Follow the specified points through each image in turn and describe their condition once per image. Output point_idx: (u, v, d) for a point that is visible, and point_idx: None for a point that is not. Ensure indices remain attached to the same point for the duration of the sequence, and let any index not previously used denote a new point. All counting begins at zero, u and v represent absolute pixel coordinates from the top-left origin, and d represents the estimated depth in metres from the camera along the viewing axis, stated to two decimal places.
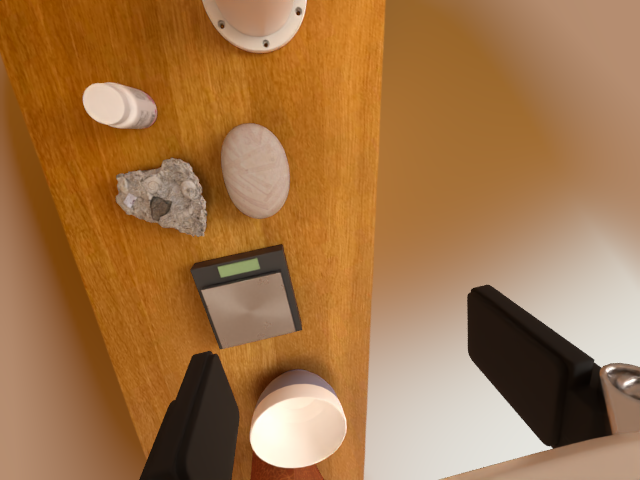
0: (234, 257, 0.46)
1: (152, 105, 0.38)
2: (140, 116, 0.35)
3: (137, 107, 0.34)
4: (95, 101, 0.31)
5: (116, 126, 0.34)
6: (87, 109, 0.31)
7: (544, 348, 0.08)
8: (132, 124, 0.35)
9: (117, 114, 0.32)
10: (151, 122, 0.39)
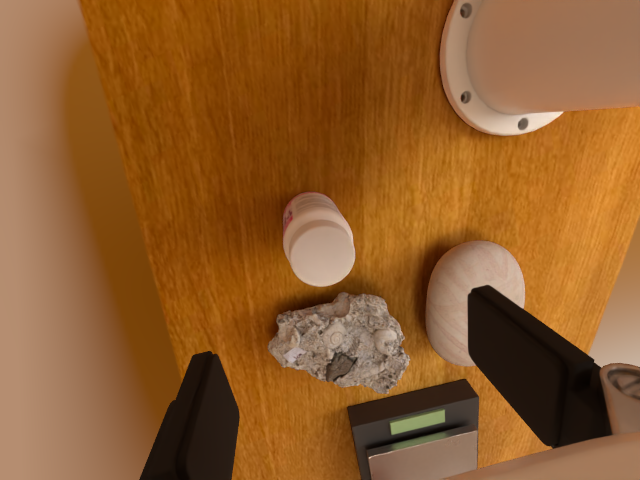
0: (406, 402, 0.33)
1: None
2: None
3: None
4: (312, 254, 0.18)
5: None
6: (295, 267, 0.18)
7: (544, 348, 0.08)
8: None
9: (341, 271, 0.18)
10: None
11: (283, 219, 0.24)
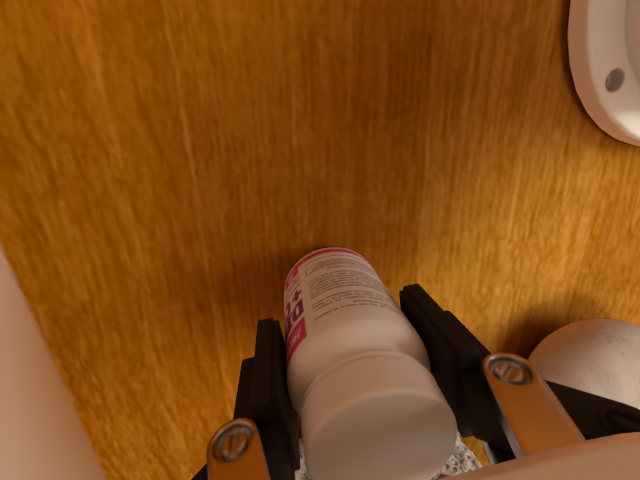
0: None
1: None
2: None
3: None
4: (358, 449, 0.07)
5: None
6: (318, 476, 0.07)
7: (444, 340, 0.09)
8: None
9: (423, 473, 0.08)
10: None
11: (284, 300, 0.13)
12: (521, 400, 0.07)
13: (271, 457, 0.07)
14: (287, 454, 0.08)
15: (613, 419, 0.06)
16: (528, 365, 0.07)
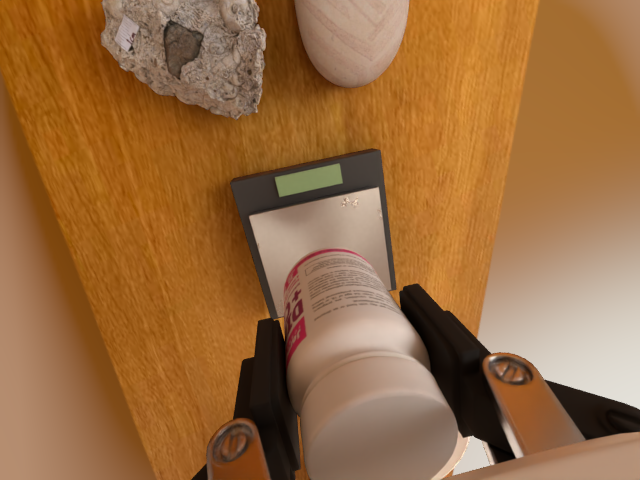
0: (299, 165, 0.28)
1: None
2: None
3: None
4: (359, 450, 0.07)
5: None
6: (317, 477, 0.07)
7: (444, 339, 0.09)
8: None
9: (423, 473, 0.08)
10: None
11: (284, 300, 0.13)
12: (521, 400, 0.07)
13: (271, 457, 0.07)
14: (287, 454, 0.08)
15: (614, 419, 0.06)
16: (528, 365, 0.07)
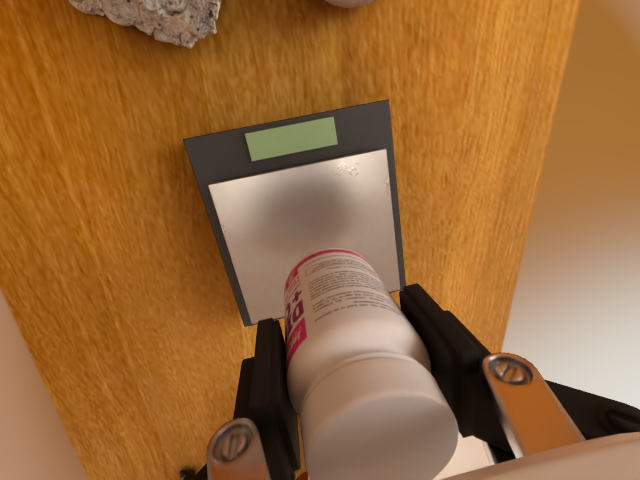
0: None
1: None
2: None
3: None
4: (359, 451, 0.07)
5: None
6: (318, 478, 0.07)
7: (444, 340, 0.09)
8: None
9: (424, 474, 0.08)
10: None
11: (284, 301, 0.13)
12: (521, 400, 0.07)
13: (271, 457, 0.07)
14: (287, 454, 0.08)
15: (613, 419, 0.06)
16: (528, 365, 0.07)
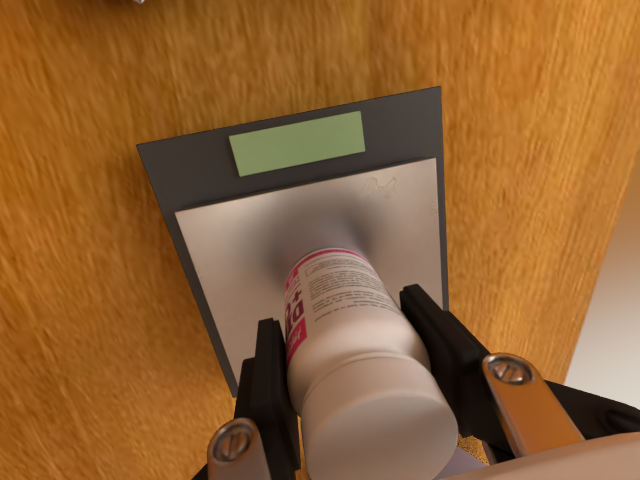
0: None
1: None
2: None
3: None
4: (359, 451, 0.07)
5: None
6: (318, 477, 0.07)
7: (443, 340, 0.09)
8: None
9: (424, 474, 0.08)
10: None
11: (284, 301, 0.13)
12: (521, 400, 0.07)
13: (271, 457, 0.07)
14: (287, 454, 0.08)
15: (613, 419, 0.06)
16: (528, 365, 0.07)
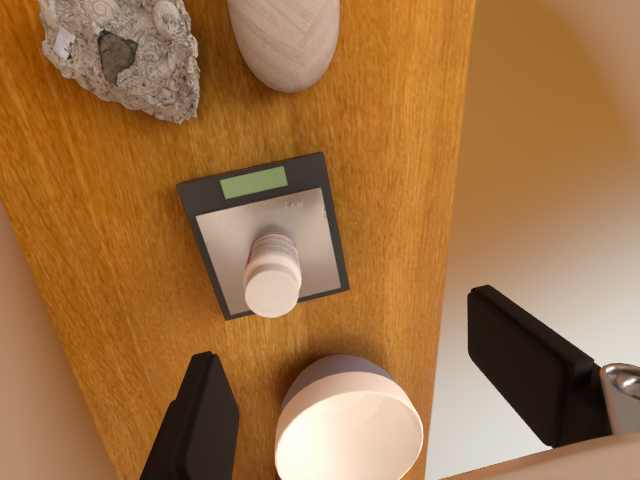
0: (246, 168, 0.29)
1: (297, 252, 0.29)
2: None
3: (301, 279, 0.25)
4: (262, 293, 0.22)
5: None
6: (249, 303, 0.22)
7: (544, 348, 0.08)
8: None
9: (288, 305, 0.23)
10: None
11: None
12: (639, 415, 0.06)
13: None
14: None
15: None
16: None
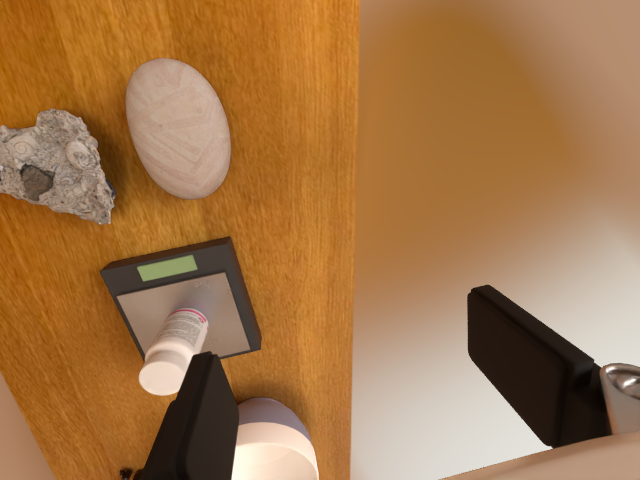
0: (163, 253, 0.34)
1: (205, 325, 0.34)
2: None
3: None
4: (153, 378, 0.27)
5: None
6: (143, 385, 0.27)
7: (544, 348, 0.08)
8: None
9: (176, 386, 0.28)
10: None
11: None
12: None
13: None
14: None
15: None
16: None
